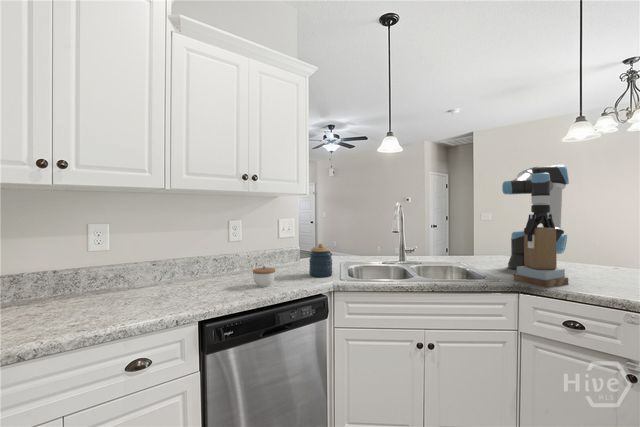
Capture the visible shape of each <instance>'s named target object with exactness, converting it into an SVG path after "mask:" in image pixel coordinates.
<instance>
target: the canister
mask: <svg viewBox="0 0 640 427" xmlns="http://www.w3.org/2000/svg"><path fill="white" fill-rule="evenodd" d="M331 251H332V249H330V248H329V247H327V246H324V245H323V243H318V245H317V246H315V247H313V248H310V253H309V254H308V255H309V260H308V261H309V272H308V273H309V276H310V277H313V278H314V277H315V278H329V277H331V276H332V275H333V259H332V256H333V253H332V252H331ZM328 276H329V277H328Z"/></svg>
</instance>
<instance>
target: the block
mask: <svg viewBox="0 0 640 427" xmlns="http://www.w3.org/2000/svg"><path fill="white" fill-rule="evenodd" d="M525 228H526V227H523V231H525ZM533 235H534V248H528V235H527V234H525V233H524V265H525V266H526V267H530V268H533V269H556V268H558V267H557V262H558V261H557V254H556V229H555V228H546V227H541V226H540V227H539V226H537V228H535V229H534V234H533Z"/></svg>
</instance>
